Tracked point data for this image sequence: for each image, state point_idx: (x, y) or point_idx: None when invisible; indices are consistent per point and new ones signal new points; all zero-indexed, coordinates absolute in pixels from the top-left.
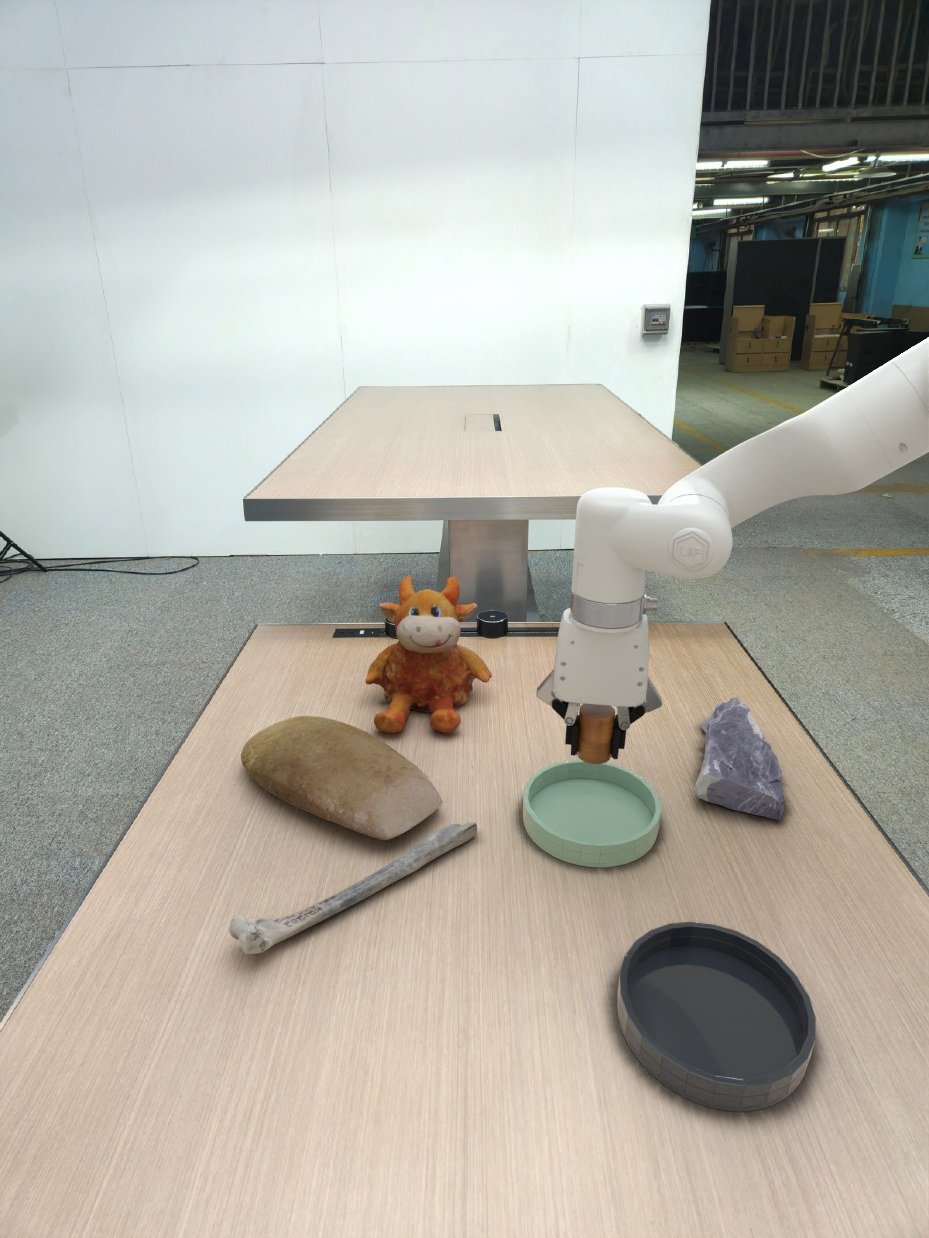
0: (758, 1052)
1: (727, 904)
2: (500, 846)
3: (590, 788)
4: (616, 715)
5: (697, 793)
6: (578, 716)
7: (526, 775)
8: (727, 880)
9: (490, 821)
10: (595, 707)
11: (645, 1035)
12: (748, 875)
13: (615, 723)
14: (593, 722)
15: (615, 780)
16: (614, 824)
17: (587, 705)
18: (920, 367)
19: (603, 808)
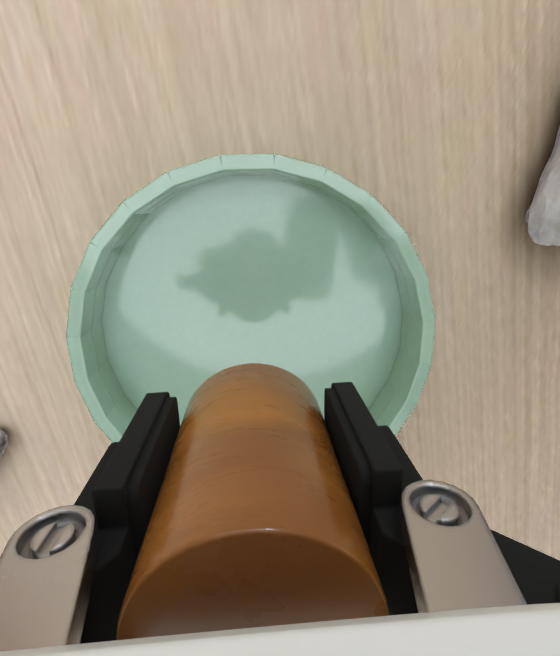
0: None
1: (493, 495)
2: (76, 443)
3: (252, 222)
4: (387, 547)
5: (536, 237)
6: (136, 516)
7: (65, 170)
8: (510, 444)
9: (29, 375)
10: (239, 616)
11: None
12: (551, 426)
13: (369, 534)
14: None
15: (321, 189)
16: (312, 351)
17: (173, 605)
18: None
19: (287, 299)
